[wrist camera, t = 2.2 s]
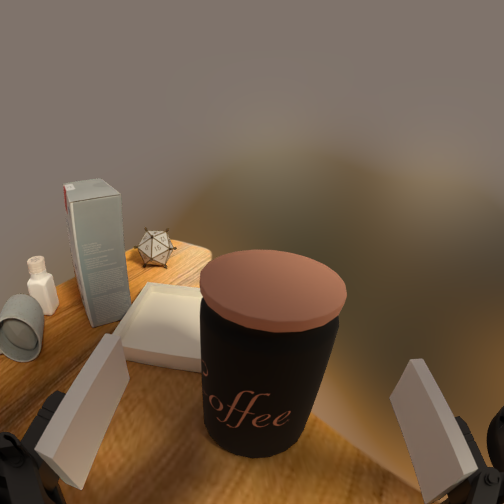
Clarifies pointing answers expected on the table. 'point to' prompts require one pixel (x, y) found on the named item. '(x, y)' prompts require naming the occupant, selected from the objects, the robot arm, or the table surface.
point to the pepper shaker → (42, 285)
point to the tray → (163, 327)
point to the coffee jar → (264, 346)
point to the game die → (155, 247)
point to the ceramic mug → (21, 328)
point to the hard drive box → (98, 249)
